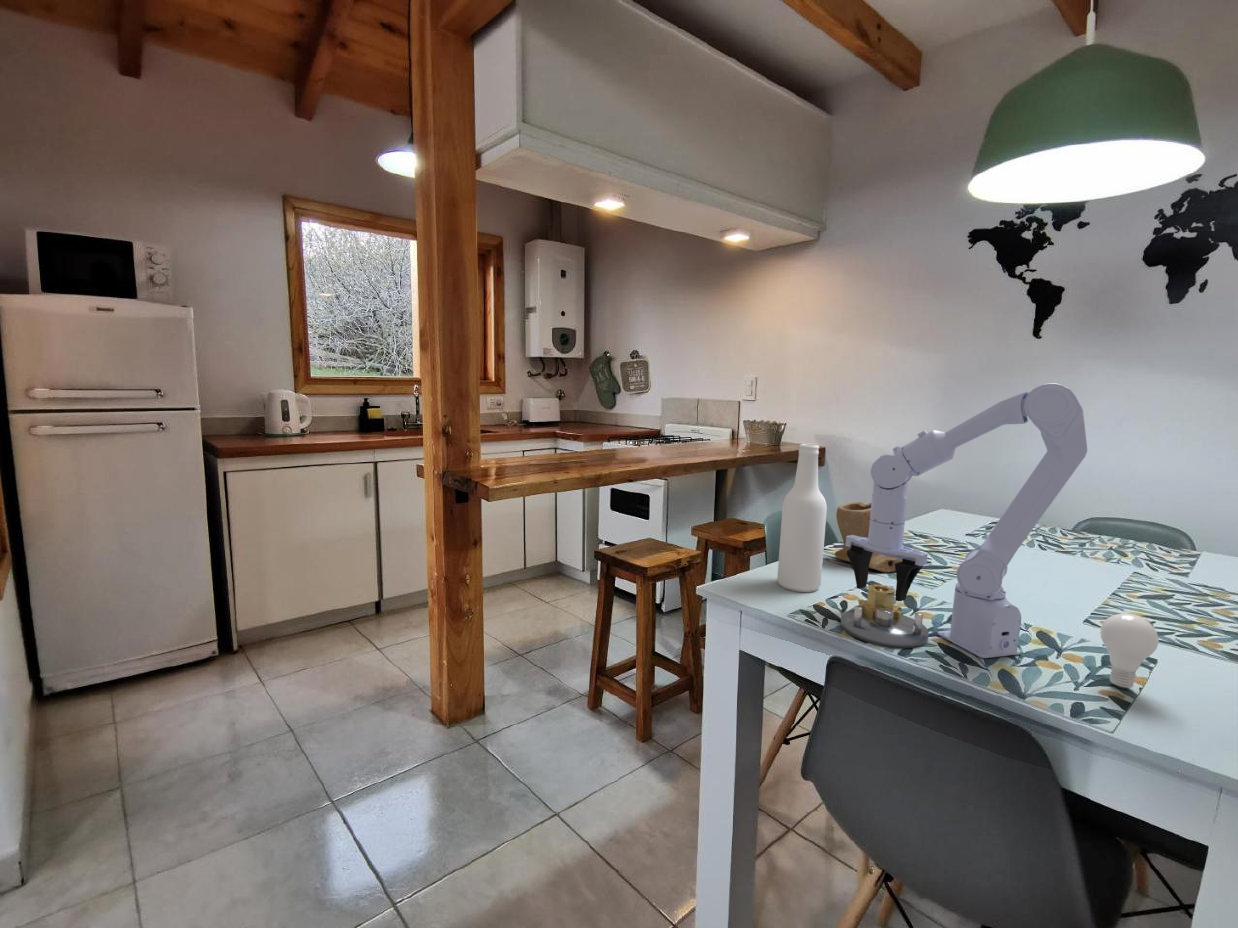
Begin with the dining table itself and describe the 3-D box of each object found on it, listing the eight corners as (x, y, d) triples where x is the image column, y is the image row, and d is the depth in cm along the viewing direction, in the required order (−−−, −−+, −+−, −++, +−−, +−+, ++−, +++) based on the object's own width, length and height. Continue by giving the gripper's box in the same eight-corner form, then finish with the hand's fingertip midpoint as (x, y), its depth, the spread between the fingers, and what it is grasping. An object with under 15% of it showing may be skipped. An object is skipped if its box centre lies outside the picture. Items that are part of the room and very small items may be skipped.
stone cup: (821, 559, 147) (826, 499, 144) (855, 554, 152) (860, 496, 150) (873, 578, 133) (879, 512, 131) (908, 571, 139) (915, 508, 137)
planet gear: (909, 617, 108) (912, 593, 107) (878, 621, 106) (880, 597, 105) (880, 603, 115) (882, 580, 114) (849, 606, 112) (851, 583, 112)
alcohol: (829, 589, 125) (841, 446, 121) (800, 595, 121) (811, 448, 116) (796, 576, 133) (807, 441, 128) (768, 582, 128) (777, 443, 124)
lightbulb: (1158, 702, 83) (1170, 627, 82) (1102, 692, 85) (1113, 619, 84) (1138, 681, 89) (1149, 611, 87) (1086, 672, 91) (1096, 603, 90)
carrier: (947, 643, 100) (950, 617, 99) (876, 651, 96) (879, 623, 96) (888, 612, 113) (891, 588, 113) (824, 617, 110) (826, 593, 109)
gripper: (939, 526, 104) (931, 601, 106) (863, 510, 116) (857, 578, 118) (918, 531, 100) (910, 609, 102) (841, 514, 112) (835, 584, 113)
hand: (880, 593), depth 109 cm, fingers open, 7 cm apart
